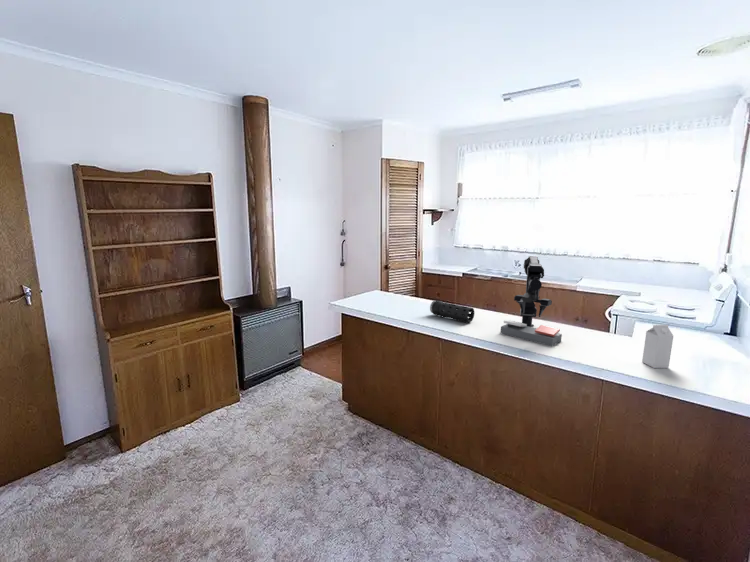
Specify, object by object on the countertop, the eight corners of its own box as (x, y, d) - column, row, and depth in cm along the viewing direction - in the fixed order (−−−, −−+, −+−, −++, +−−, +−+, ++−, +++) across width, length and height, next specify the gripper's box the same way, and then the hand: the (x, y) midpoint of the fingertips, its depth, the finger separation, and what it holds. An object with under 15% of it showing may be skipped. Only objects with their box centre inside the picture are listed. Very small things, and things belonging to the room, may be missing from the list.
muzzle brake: (466, 325, 236) (467, 308, 234) (428, 316, 255) (429, 301, 253) (474, 322, 243) (475, 306, 241) (437, 313, 261) (437, 298, 260)
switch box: (510, 329, 228) (510, 321, 228) (561, 340, 208) (561, 332, 207) (500, 333, 220) (500, 325, 219) (552, 346, 200) (553, 337, 199)
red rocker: (541, 326, 213) (541, 324, 213) (559, 331, 206) (559, 328, 206) (534, 332, 208) (534, 330, 208) (553, 336, 201) (553, 334, 200)
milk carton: (641, 362, 179) (647, 322, 176) (656, 362, 180) (661, 322, 177) (653, 368, 172) (659, 327, 169) (668, 368, 173) (675, 327, 170)
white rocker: (509, 322, 226) (510, 320, 226) (526, 326, 219) (526, 324, 219) (503, 322, 220) (503, 320, 220) (520, 326, 213) (520, 324, 213)
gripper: (510, 286, 211) (508, 314, 213) (544, 291, 198) (542, 321, 200) (519, 284, 218) (517, 311, 221) (553, 289, 205) (550, 317, 207)
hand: (531, 315), depth 212 cm, fingers open, 9 cm apart
